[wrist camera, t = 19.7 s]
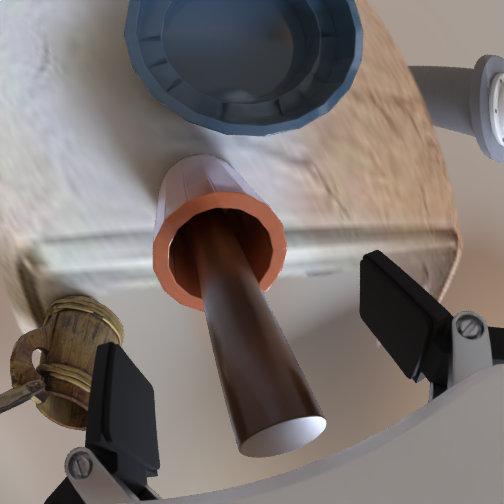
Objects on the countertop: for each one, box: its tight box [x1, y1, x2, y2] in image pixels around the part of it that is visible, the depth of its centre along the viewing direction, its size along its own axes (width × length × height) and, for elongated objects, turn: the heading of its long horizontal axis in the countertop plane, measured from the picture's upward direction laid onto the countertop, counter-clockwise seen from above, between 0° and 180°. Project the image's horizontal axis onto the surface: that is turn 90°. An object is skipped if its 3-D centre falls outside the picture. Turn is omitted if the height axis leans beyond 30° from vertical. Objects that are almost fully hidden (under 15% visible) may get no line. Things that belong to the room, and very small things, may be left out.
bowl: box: [124, 0, 363, 136], centre depth 16 cm, size 15×15×6 cm
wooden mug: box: [0, 296, 124, 431], centre depth 18 cm, size 9×14×18 cm, turn 19°
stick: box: [189, 208, 327, 457], centre depth 15 cm, size 2×2×20 cm
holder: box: [153, 154, 287, 312], centre depth 19 cm, size 7×7×11 cm
